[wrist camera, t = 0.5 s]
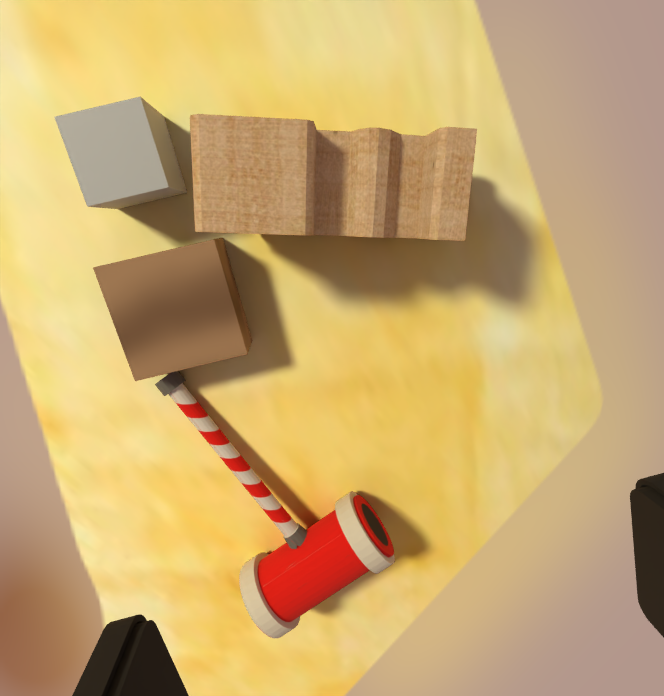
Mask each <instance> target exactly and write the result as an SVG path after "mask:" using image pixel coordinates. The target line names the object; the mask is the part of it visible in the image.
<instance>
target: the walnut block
mask: <svg viewBox="0 0 664 696" xmlns="http://www.w3.org/2000/svg"><path fill="white" fill-rule="evenodd" d="M93 269H94V271H95V274H96V277H97V280H98V282H99V285H100V288H101V290H102V293H103V296H104V298H105V301H106V304H107V307H108V309H109V312H110V315H111V317H112V320H113V323H114V325H115V328H116V331H117V334H118V336H119V339H120V342H121V344H122V347H123V350H124V352H125V355H126V358H127V361H128V363H129V366H130V369H131V371H132V374H133V377H134V379H135V381H138V380H142V379H146V378H150V377H154V376H158V375H163V374H167V373H171V372H175V371H179V370H183V369H188V368H192V367H196V366H200V365H204V364H209V363H213V362H217V361H221V360H225V359H229V358H234V357H238V356H242V355H246V354H248V351H249V348H250V346H251V343H252V339H251V335H250V332H249V328H248V325H247V321H246V318H245V314H244V311H243V307H242V304H241V300H240V297H239V293H238V290H237V286H236V283H235V279H234V276H233V272H232V269H231V265H230V261H229V258H228V254H227V251H226V247H225V244H224V240H223V238H219V239H213V240H209V241H205V242H201V243H196V244H192V245H188V246H184V247H179V248H175V249H171V250H166V251H162V252H158V253H154V254H149V255H145V256H141V257H137V258H132V259H128V260H124V261H120V262H115V263H111V264H107V265H102V266H98V267H94V268H93Z"/></svg>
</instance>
